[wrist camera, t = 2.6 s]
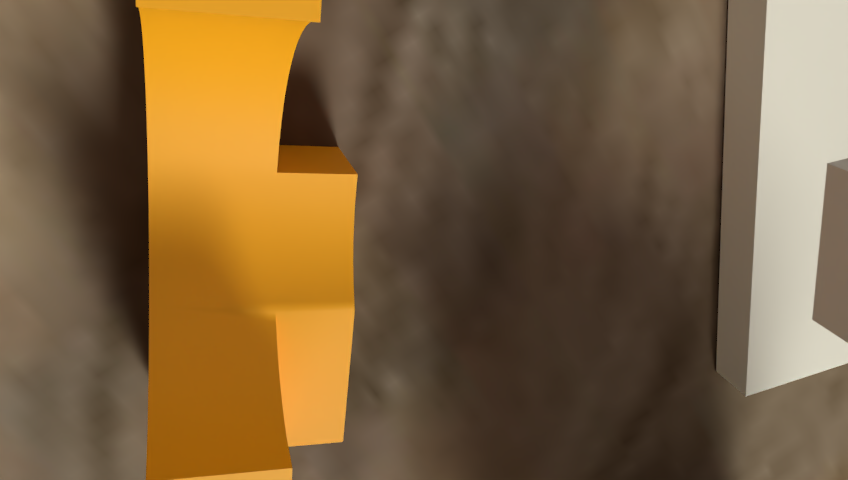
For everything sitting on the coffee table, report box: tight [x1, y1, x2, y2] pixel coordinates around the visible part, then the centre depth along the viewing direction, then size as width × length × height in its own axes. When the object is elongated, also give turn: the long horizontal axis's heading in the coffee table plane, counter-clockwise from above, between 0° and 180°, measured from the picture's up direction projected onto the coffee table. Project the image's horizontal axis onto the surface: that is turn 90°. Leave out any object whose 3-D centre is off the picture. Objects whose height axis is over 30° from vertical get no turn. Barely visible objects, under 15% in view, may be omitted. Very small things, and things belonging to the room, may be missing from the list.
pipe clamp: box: [136, 0, 358, 480], centre depth 16 cm, size 12×4×6 cm, turn 174°
